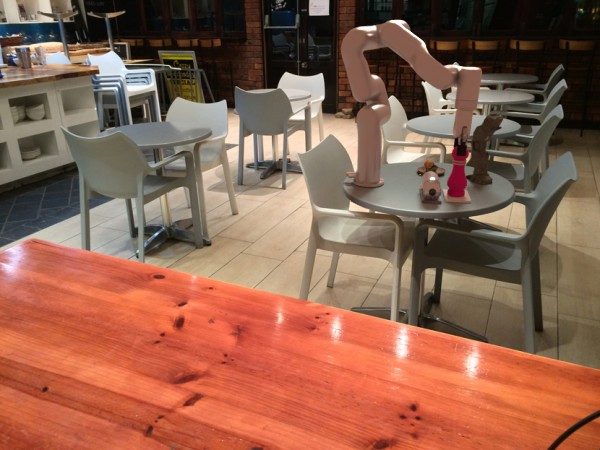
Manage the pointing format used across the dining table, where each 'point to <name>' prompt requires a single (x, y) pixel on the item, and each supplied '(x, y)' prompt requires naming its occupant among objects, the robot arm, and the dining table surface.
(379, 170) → the robot arm
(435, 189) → the motor housing
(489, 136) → the brown tall irregular piece
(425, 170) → the brown orange lobed cluster
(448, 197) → the far mat
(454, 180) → the pepper mill
